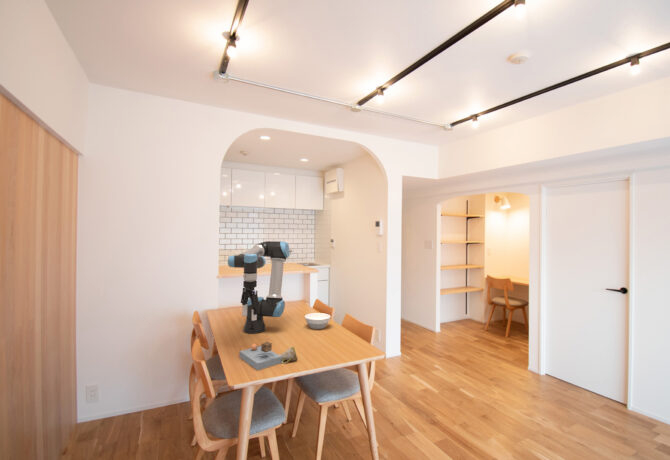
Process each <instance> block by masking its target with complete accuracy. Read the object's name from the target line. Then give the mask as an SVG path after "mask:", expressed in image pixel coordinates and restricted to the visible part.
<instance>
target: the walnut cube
mask: <svg viewBox="0 0 670 460" xmlns="http://www.w3.org/2000/svg"><path fill="white" fill-rule="evenodd" d="M260 344H261V345H260V346H261V351H263V352H269V351H273V350H272V347H273V346H272V344H273V343H272V342H269V341H264V342H262V343H260Z"/></svg>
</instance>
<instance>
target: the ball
mask: <svg viewBox="0 0 670 460" xmlns="http://www.w3.org/2000/svg"><path fill="white" fill-rule="evenodd" d="M257 347H258V345H257V344H256V343H252V344H250V348H251V349H252V350H256V349H257Z"/></svg>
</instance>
